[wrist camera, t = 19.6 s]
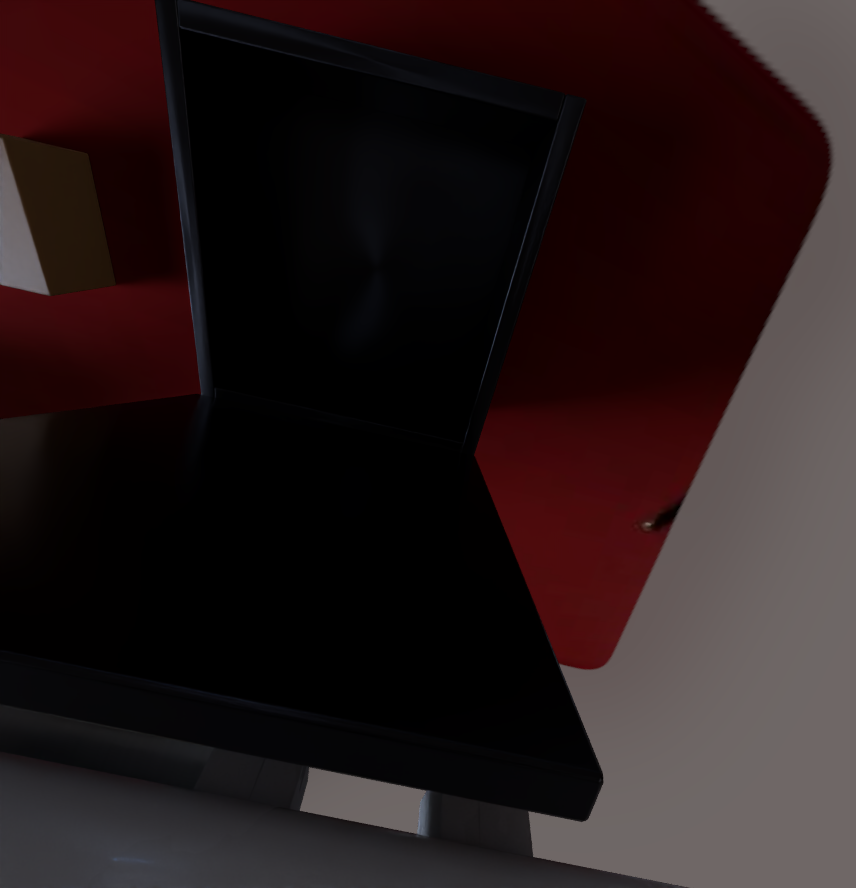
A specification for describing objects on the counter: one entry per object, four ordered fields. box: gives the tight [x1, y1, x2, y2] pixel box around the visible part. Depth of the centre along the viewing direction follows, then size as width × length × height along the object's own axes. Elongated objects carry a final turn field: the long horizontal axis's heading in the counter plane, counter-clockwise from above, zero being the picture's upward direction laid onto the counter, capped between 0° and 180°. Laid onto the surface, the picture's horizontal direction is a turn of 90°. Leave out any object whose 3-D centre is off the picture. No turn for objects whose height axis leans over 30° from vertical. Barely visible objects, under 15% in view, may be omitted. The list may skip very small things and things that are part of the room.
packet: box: [0, 134, 116, 296], centre depth 21 cm, size 7×4×4 cm, turn 169°
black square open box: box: [155, 0, 586, 455], centre depth 20 cm, size 16×16×6 cm
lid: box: [0, 394, 603, 822], centre depth 13 cm, size 16×16×5 cm
